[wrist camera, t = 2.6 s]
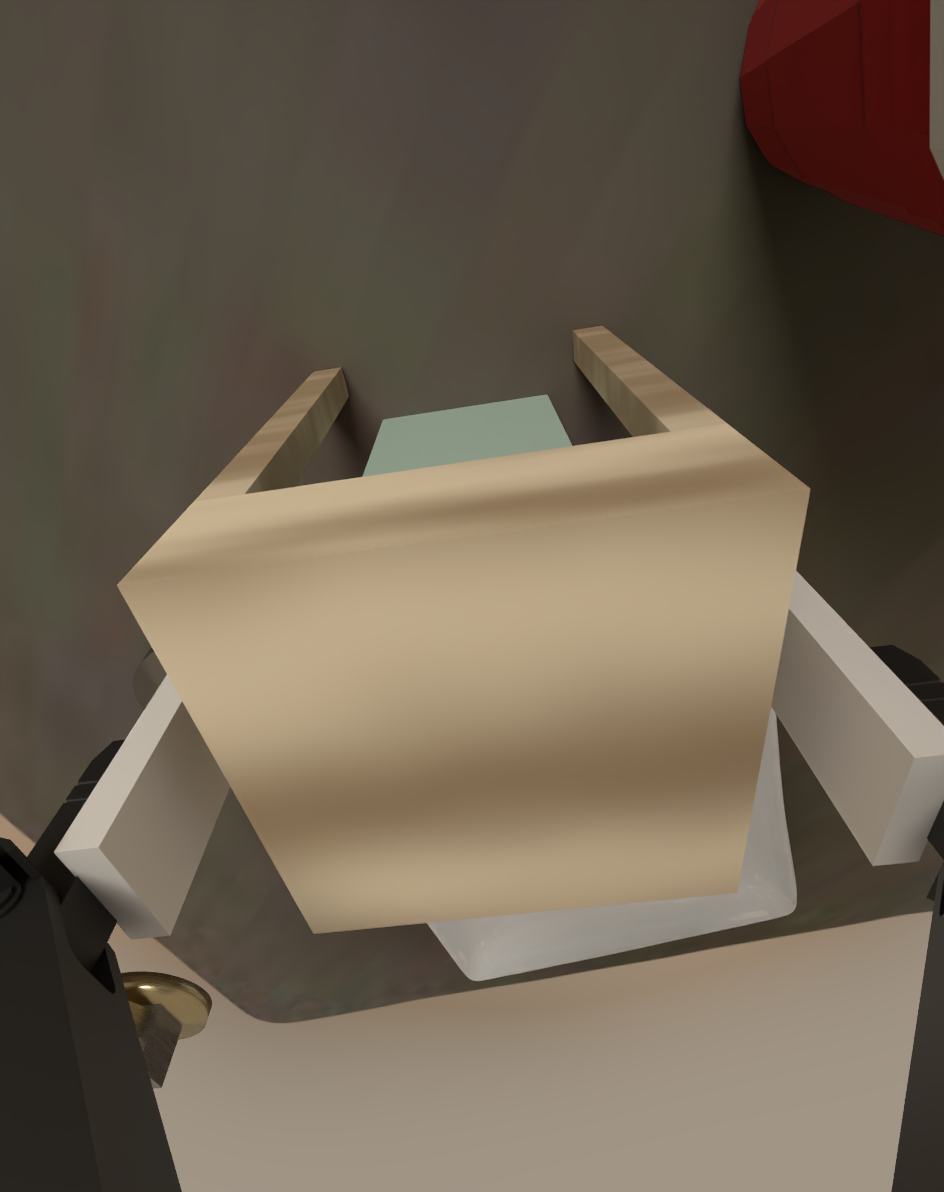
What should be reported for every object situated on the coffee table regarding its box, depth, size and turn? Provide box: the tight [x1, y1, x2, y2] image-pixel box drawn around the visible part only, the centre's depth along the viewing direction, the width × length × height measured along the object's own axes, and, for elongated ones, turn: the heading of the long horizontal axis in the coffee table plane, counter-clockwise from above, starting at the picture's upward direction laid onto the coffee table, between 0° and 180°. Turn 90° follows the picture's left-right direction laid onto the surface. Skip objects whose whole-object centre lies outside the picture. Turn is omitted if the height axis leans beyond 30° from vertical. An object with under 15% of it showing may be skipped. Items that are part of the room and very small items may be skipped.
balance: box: [121, 648, 212, 1088], centre depth 22 cm, size 15×6×15 cm, turn 8°
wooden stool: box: [117, 326, 811, 934], centre depth 17 cm, size 10×10×14 cm
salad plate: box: [427, 707, 797, 981], centre depth 33 cm, size 21×21×3 cm
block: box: [362, 395, 572, 477], centre depth 19 cm, size 6×6×9 cm
